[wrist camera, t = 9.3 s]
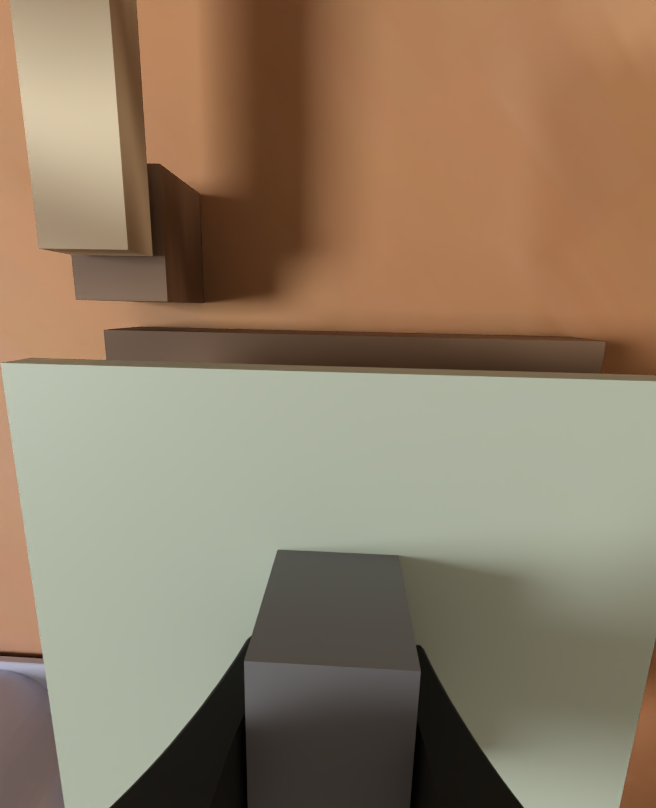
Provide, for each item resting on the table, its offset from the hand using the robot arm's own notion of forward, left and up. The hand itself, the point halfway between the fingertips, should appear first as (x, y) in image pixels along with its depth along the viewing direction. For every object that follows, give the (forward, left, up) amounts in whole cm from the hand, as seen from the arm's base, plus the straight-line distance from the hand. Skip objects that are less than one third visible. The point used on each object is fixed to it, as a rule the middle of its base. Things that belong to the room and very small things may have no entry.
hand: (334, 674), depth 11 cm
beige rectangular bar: (+16, +7, -4) cm, 18 cm away
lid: (0, 0, -2) cm, 2 cm away
